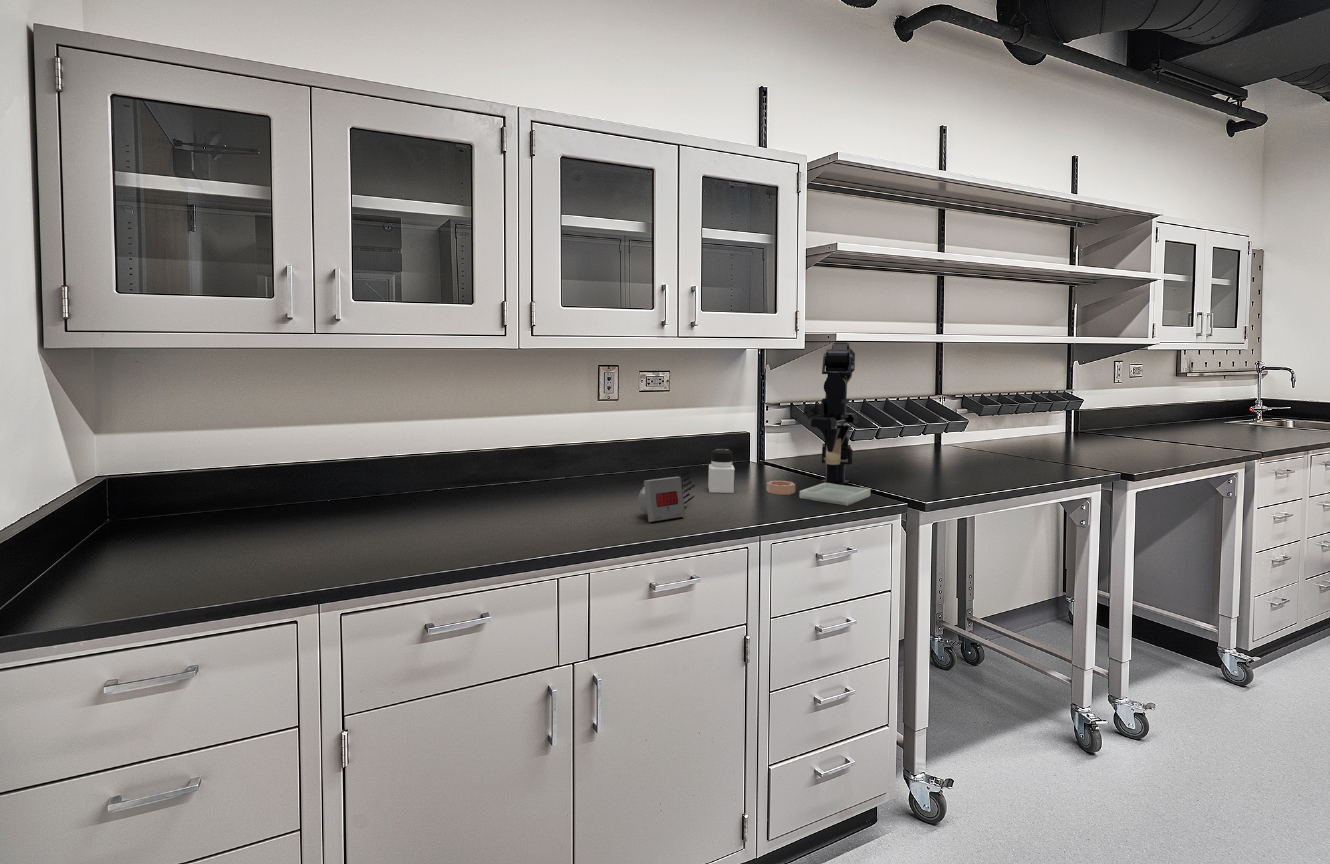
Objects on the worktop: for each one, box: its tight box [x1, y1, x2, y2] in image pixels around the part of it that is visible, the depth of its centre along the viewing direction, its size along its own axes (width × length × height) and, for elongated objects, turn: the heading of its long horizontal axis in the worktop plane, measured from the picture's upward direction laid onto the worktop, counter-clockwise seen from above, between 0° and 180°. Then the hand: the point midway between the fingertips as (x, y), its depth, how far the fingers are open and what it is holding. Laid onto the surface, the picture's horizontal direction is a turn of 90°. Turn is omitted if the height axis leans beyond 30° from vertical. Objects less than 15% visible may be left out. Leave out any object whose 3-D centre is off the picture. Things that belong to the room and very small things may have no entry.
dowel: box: [825, 438, 841, 465], centre depth 195 cm, size 4×4×7 cm
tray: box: [799, 482, 871, 507], centre depth 196 cm, size 16×14×2 cm
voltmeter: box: [637, 467, 697, 523], centre depth 175 cm, size 27×11×10 cm, turn 161°
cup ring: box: [765, 480, 796, 496], centre depth 202 cm, size 8×8×2 cm
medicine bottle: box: [707, 448, 736, 494], centre depth 202 cm, size 7×7×12 cm
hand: (833, 451), depth 195 cm, fingers closed on dowel, 4 cm apart
